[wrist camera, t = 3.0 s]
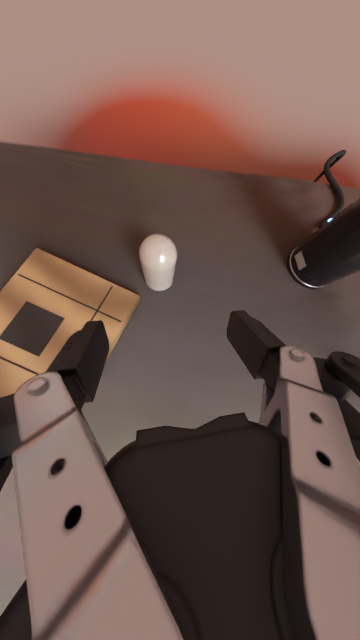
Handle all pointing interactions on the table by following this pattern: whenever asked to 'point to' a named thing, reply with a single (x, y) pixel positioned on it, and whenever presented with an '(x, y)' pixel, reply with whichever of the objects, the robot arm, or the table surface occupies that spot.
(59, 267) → the game board
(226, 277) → the table surface
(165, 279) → the beige rounded cylinder
